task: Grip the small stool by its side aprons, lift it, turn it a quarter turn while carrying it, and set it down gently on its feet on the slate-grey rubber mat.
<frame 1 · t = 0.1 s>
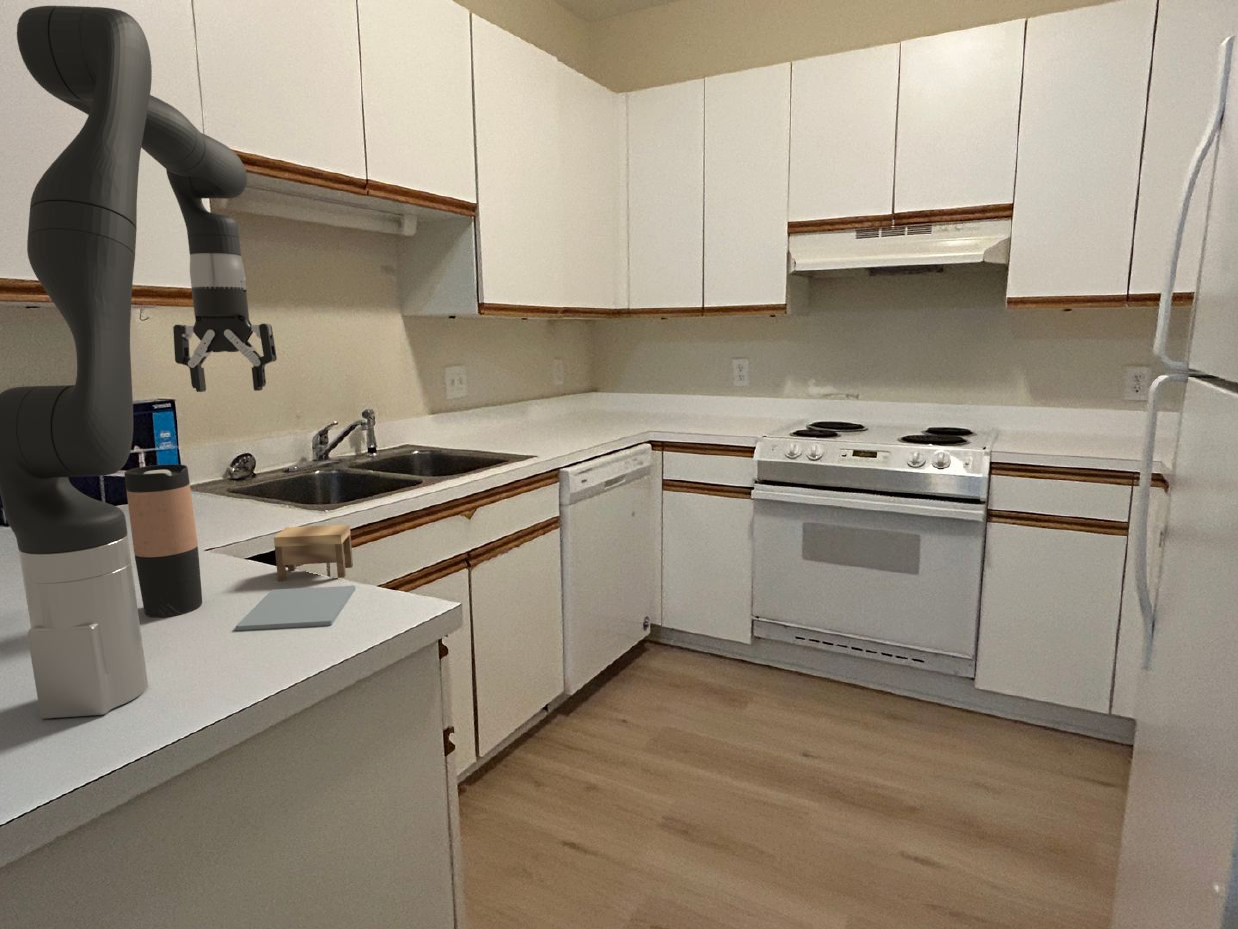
hand: (230, 390, 120), 29 cm above the counter, fingers open, 8 cm apart
travel mug: (174, 609, 107), on the counter
stool: (316, 573, 122), on the counter
mat: (300, 608, 106), on the counter
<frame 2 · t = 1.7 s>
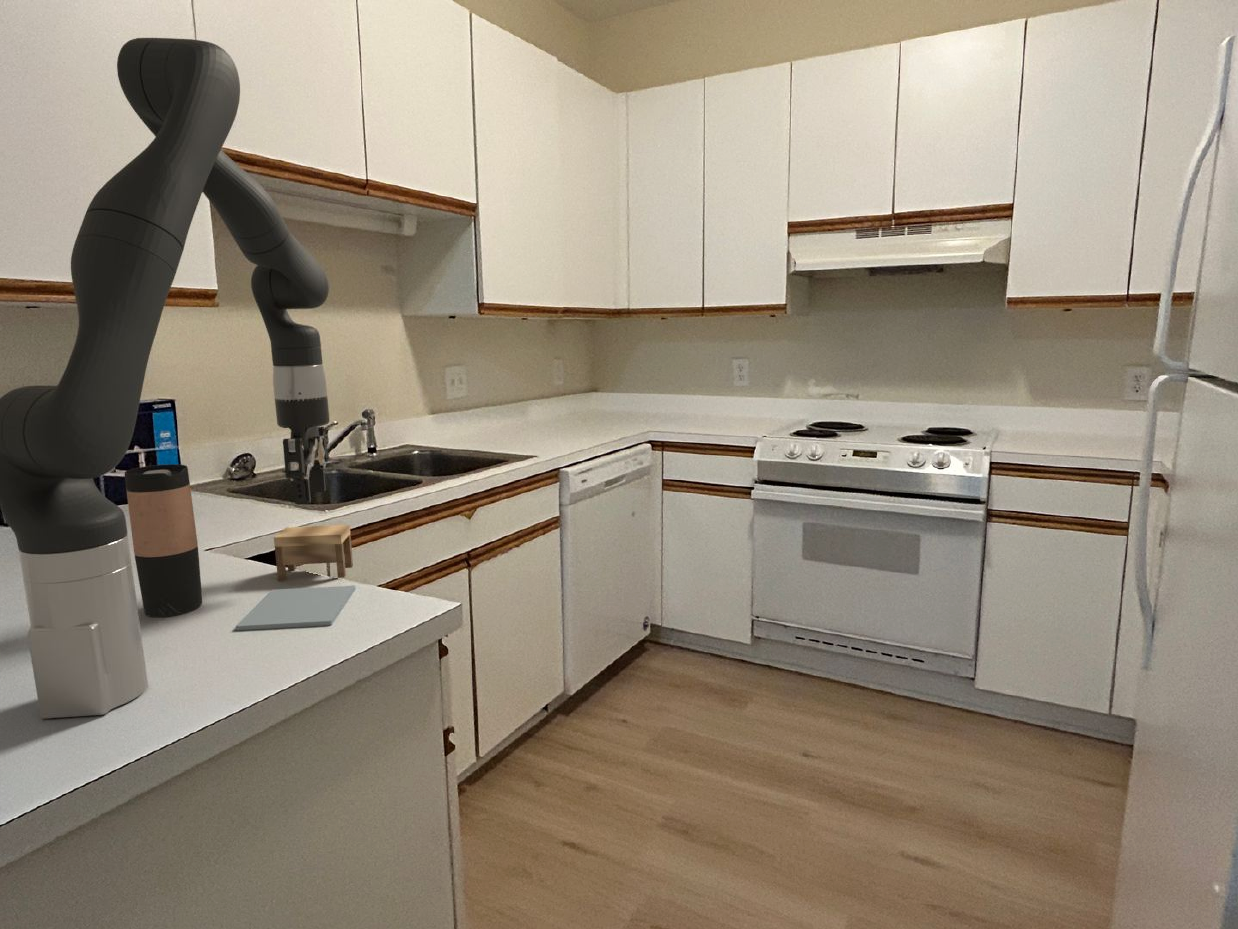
hand: (311, 497, 120), 12 cm above the counter, fingers open, 8 cm apart
nothing on the counter moved.
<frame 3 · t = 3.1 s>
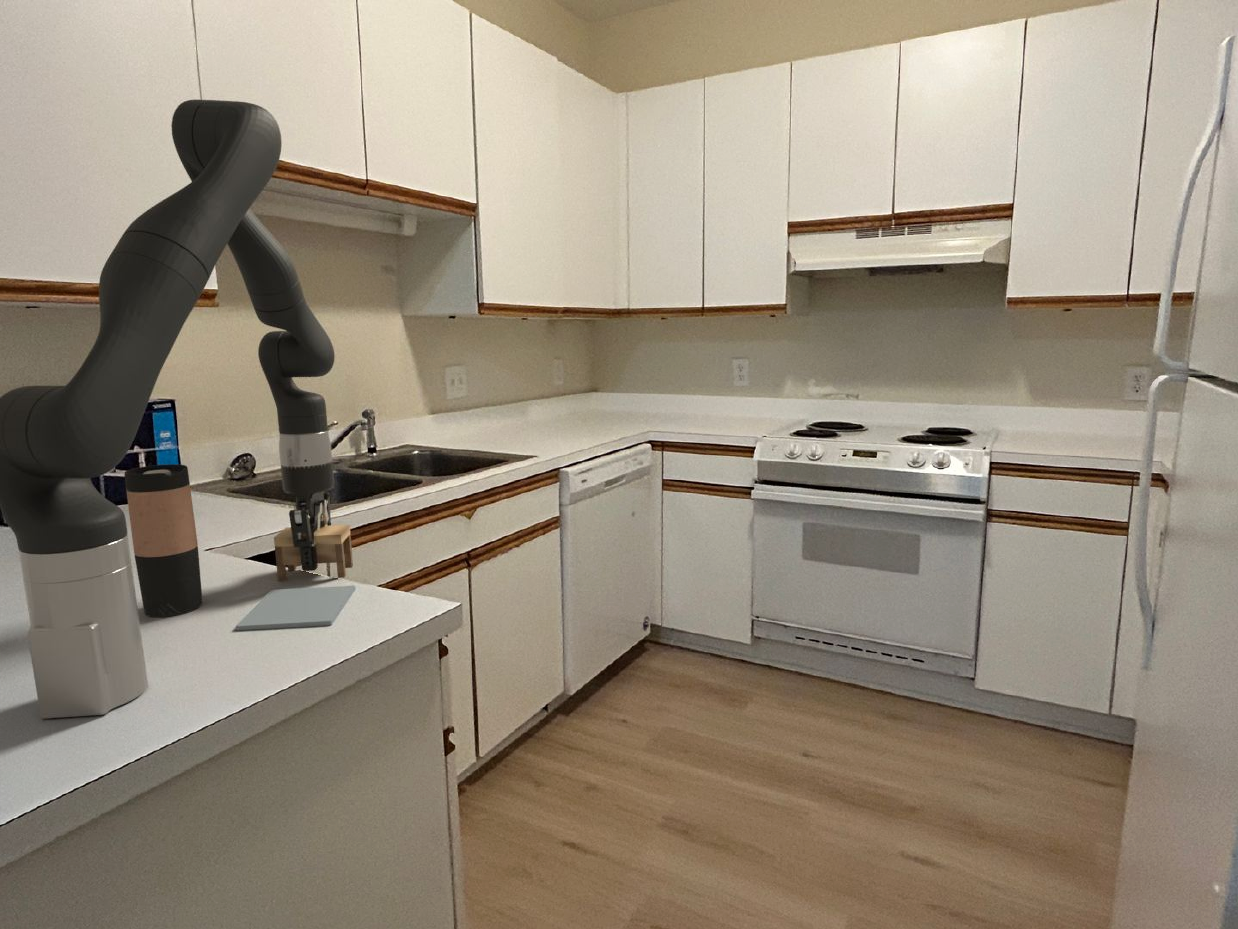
hand: (315, 563, 122), 2 cm above the counter, fingers closed on stool, 6 cm apart
stool: (316, 573, 122), on the counter, touching gripper
everything else where it was.
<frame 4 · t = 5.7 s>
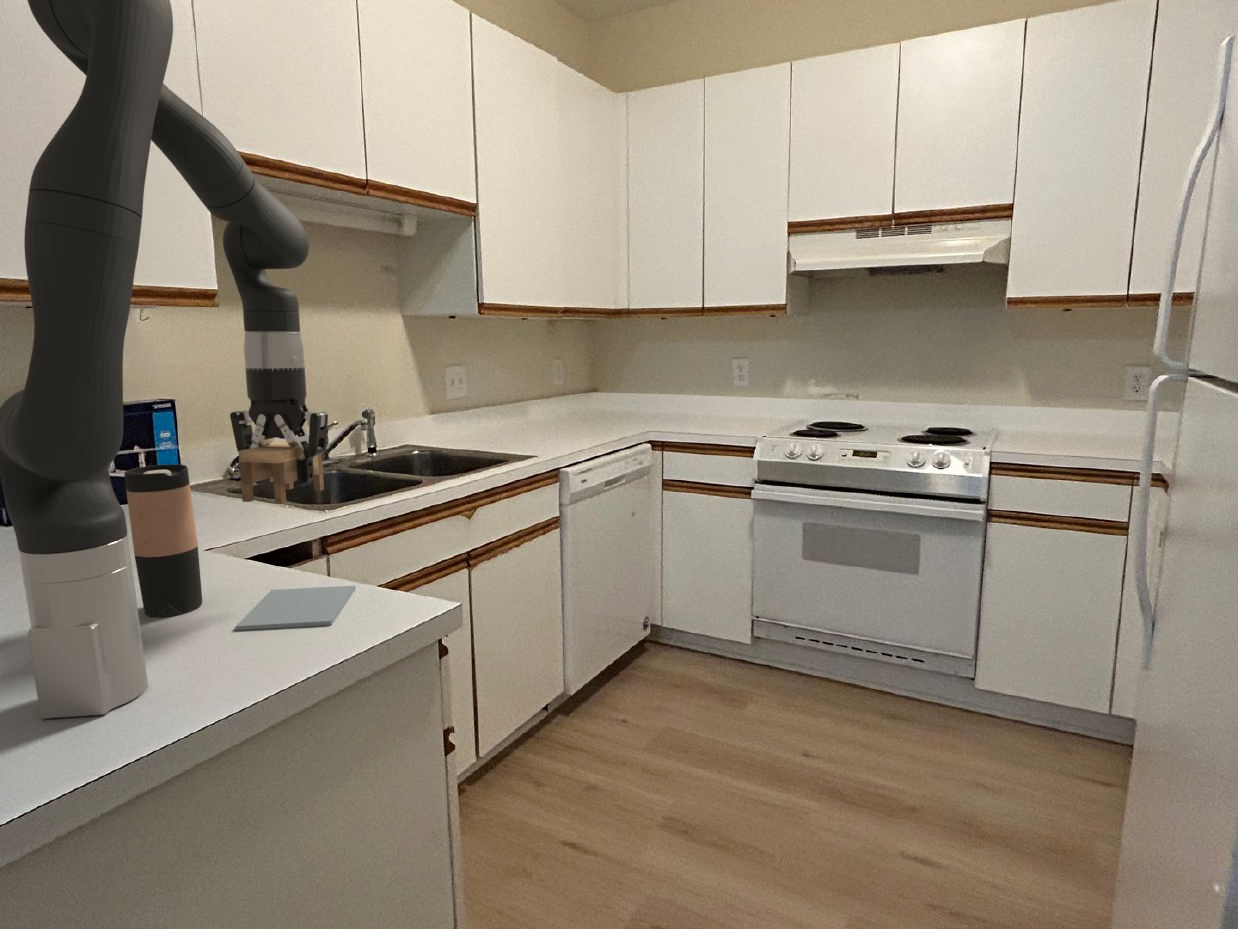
hand: (283, 484, 108), 17 cm above the counter, fingers closed on stool, 6 cm apart
stool: (284, 495, 108), point 15 cm above the counter, touching gripper
everything else where it was.
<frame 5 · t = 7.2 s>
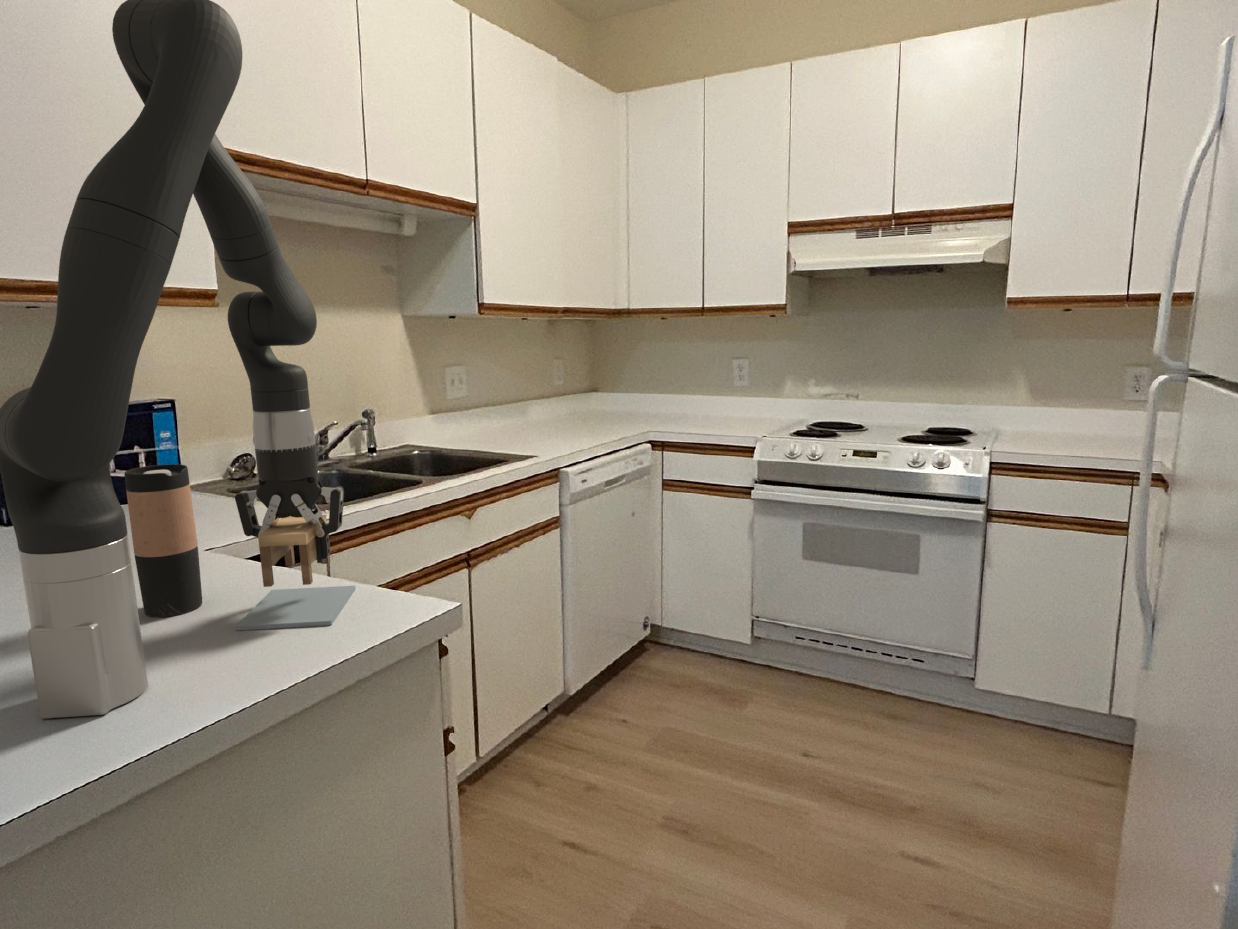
hand: (297, 562, 105), 7 cm above the counter, fingers closed on stool, 6 cm apart
stool: (298, 573, 106), point 5 cm above the counter, touching gripper
everything else where it was.
when the fingers open (4 cm above the counter, at t = 8.3 s): stool drops 2 cm, resting on mat.
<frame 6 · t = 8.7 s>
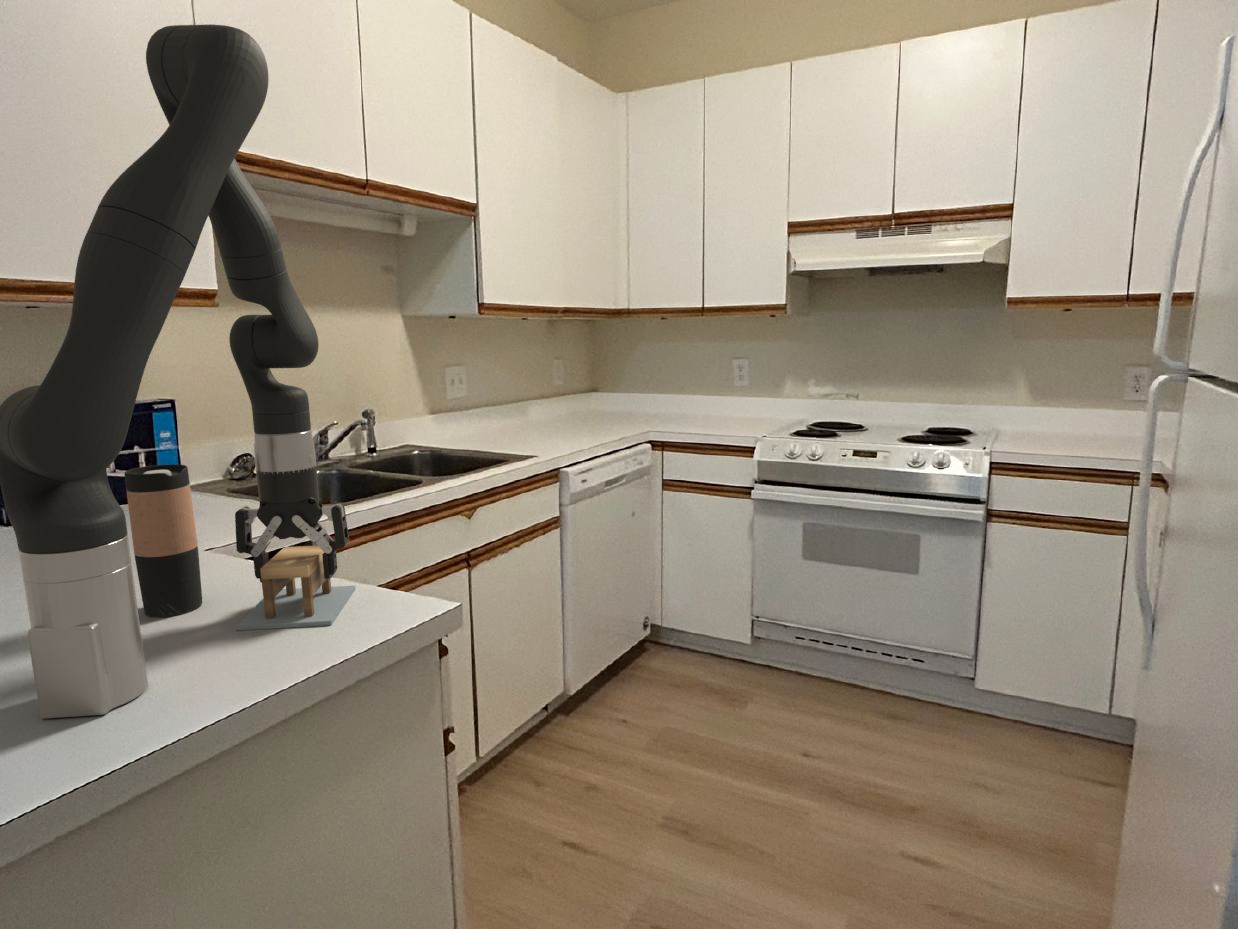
hand: (297, 579, 106), 4 cm above the counter, fingers open, 8 cm apart
stool: (300, 604, 106), point 1 cm above the counter, touching mat
everything else where it was.
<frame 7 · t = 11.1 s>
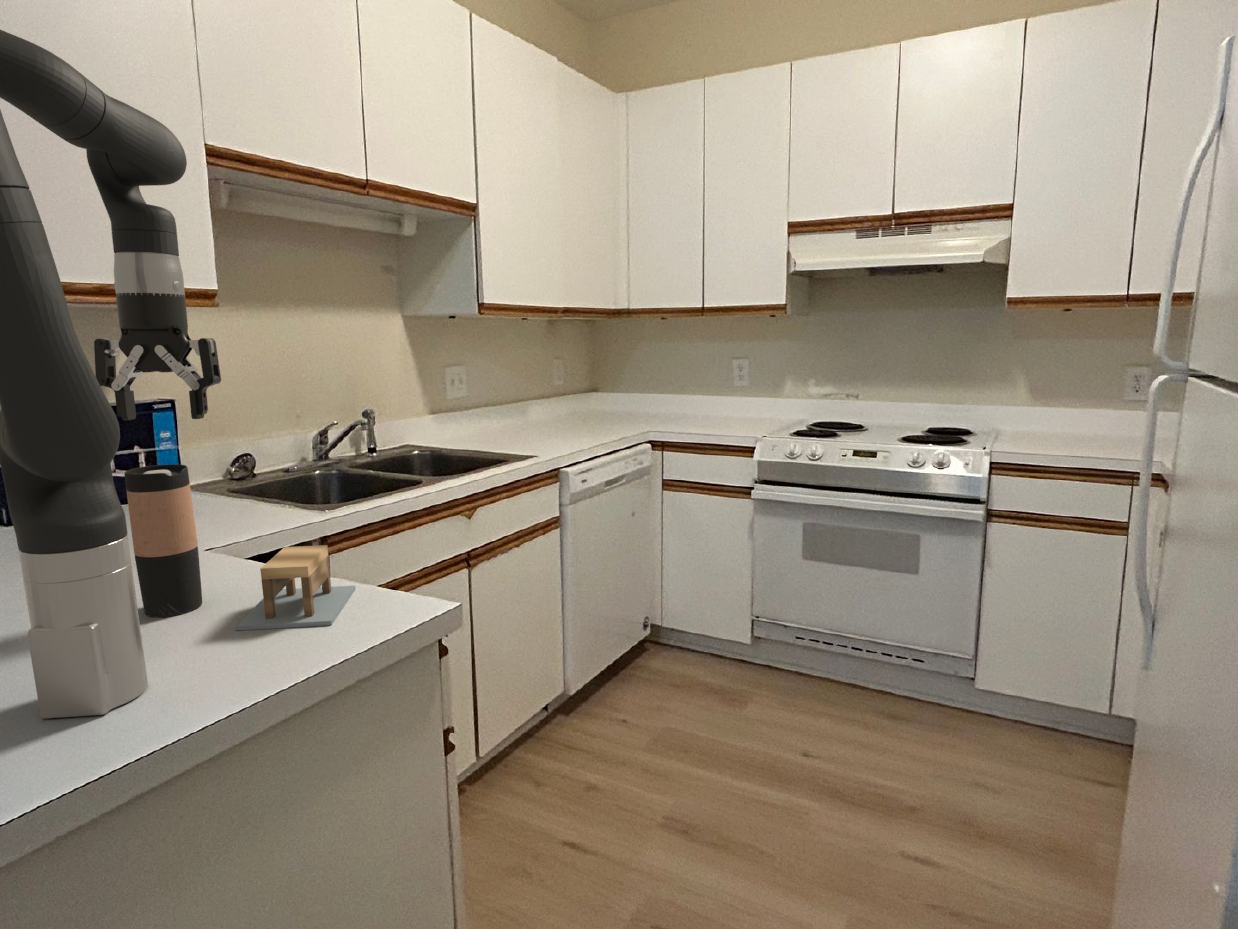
hand: (163, 419, 99), 27 cm above the counter, fingers open, 8 cm apart
nothing on the counter moved.
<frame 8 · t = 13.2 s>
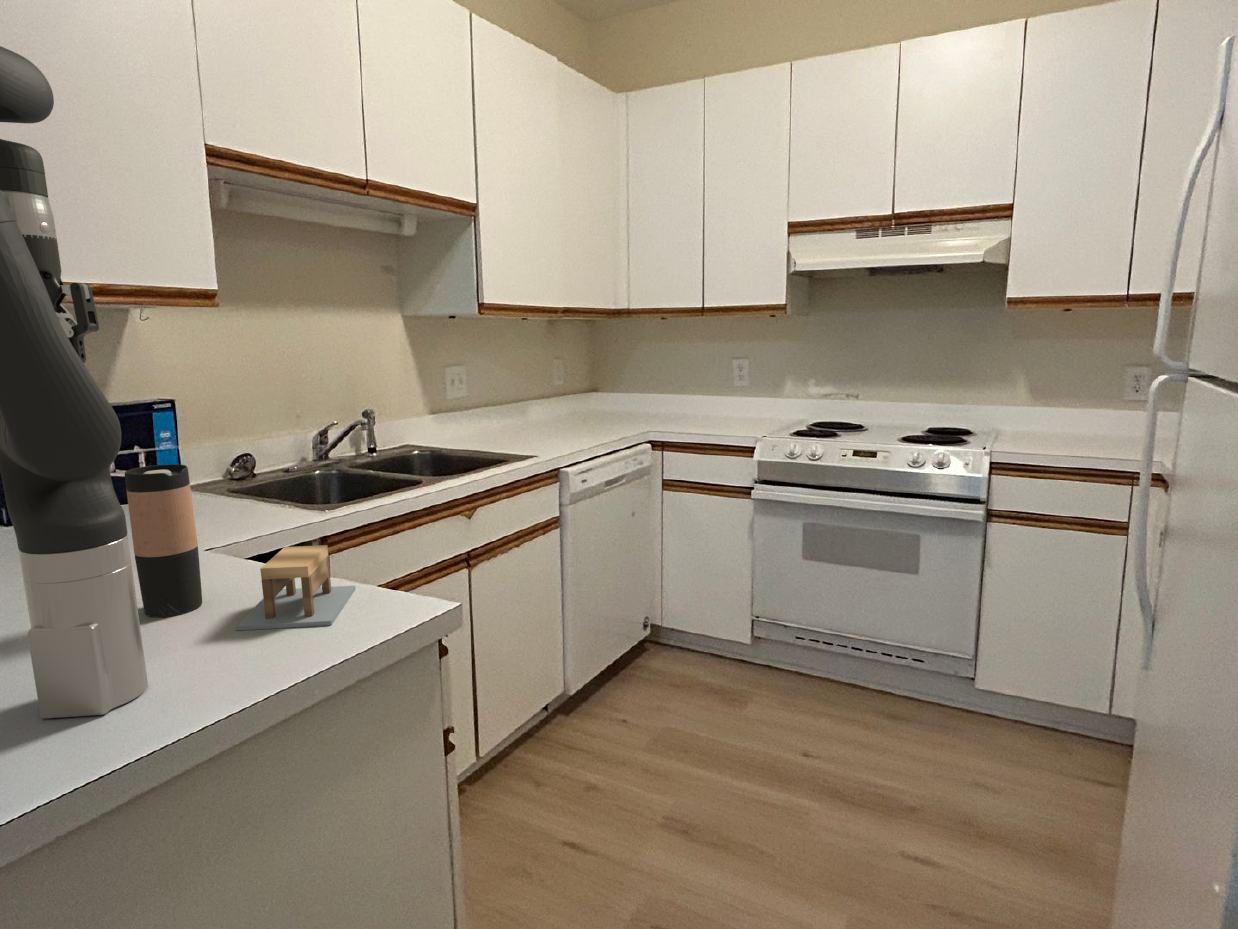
hand: (38, 368, 95), 34 cm above the counter, fingers open, 8 cm apart
nothing on the counter moved.
at the end: stool inside the target area on the mat (0.1 cm from its centre), point 0.6 cm above the mat's base; stool tilted 0°; the gripper is holding nothing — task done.
